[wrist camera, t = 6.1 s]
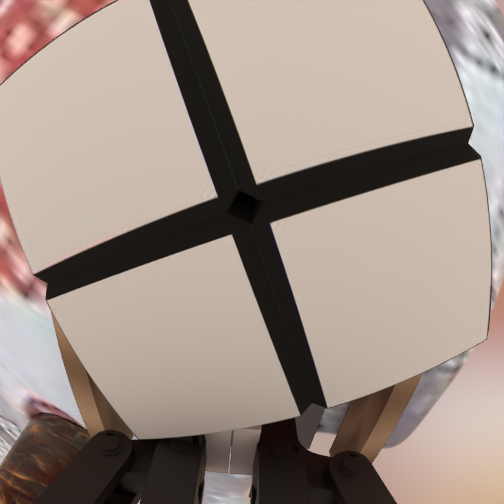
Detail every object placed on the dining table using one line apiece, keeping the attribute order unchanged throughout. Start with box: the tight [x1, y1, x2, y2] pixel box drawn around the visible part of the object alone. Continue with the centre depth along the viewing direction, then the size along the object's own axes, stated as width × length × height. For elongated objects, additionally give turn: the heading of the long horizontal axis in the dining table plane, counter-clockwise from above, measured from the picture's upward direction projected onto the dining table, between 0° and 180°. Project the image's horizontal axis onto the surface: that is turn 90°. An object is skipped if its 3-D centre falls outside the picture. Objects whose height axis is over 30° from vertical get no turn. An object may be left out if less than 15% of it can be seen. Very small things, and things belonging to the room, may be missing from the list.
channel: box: [46, 283, 423, 464], centre depth 15 cm, size 20×19×4 cm
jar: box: [0, 413, 91, 504], centre depth 15 cm, size 12×12×15 cm
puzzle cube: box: [0, 0, 492, 440], centre depth 10 cm, size 10×10×10 cm
